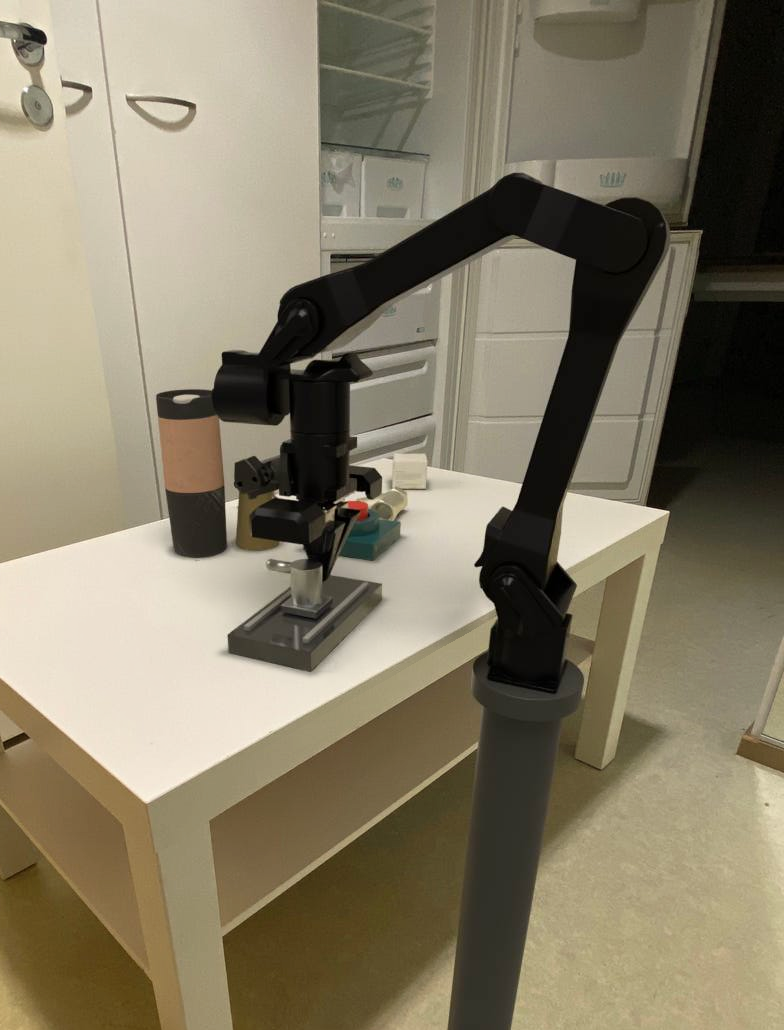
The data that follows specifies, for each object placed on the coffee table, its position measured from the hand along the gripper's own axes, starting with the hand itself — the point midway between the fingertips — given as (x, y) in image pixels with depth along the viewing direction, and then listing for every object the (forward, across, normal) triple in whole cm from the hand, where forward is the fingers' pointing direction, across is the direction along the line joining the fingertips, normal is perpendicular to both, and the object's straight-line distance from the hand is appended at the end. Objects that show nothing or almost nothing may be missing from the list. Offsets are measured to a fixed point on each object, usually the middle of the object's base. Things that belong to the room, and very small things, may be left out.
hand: (321, 580), depth 77 cm
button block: (+4, -22, -6) cm, 23 cm away
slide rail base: (+4, +3, 0) cm, 5 cm away
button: (0, -22, -6) cm, 23 cm away
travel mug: (+4, -12, -24) cm, 27 cm away
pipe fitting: (+4, -34, -7) cm, 35 cm away
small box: (+4, -53, -9) cm, 54 cm away
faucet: (+2, +4, -1) cm, 4 cm away
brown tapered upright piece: (+4, -17, -18) cm, 25 cm away
